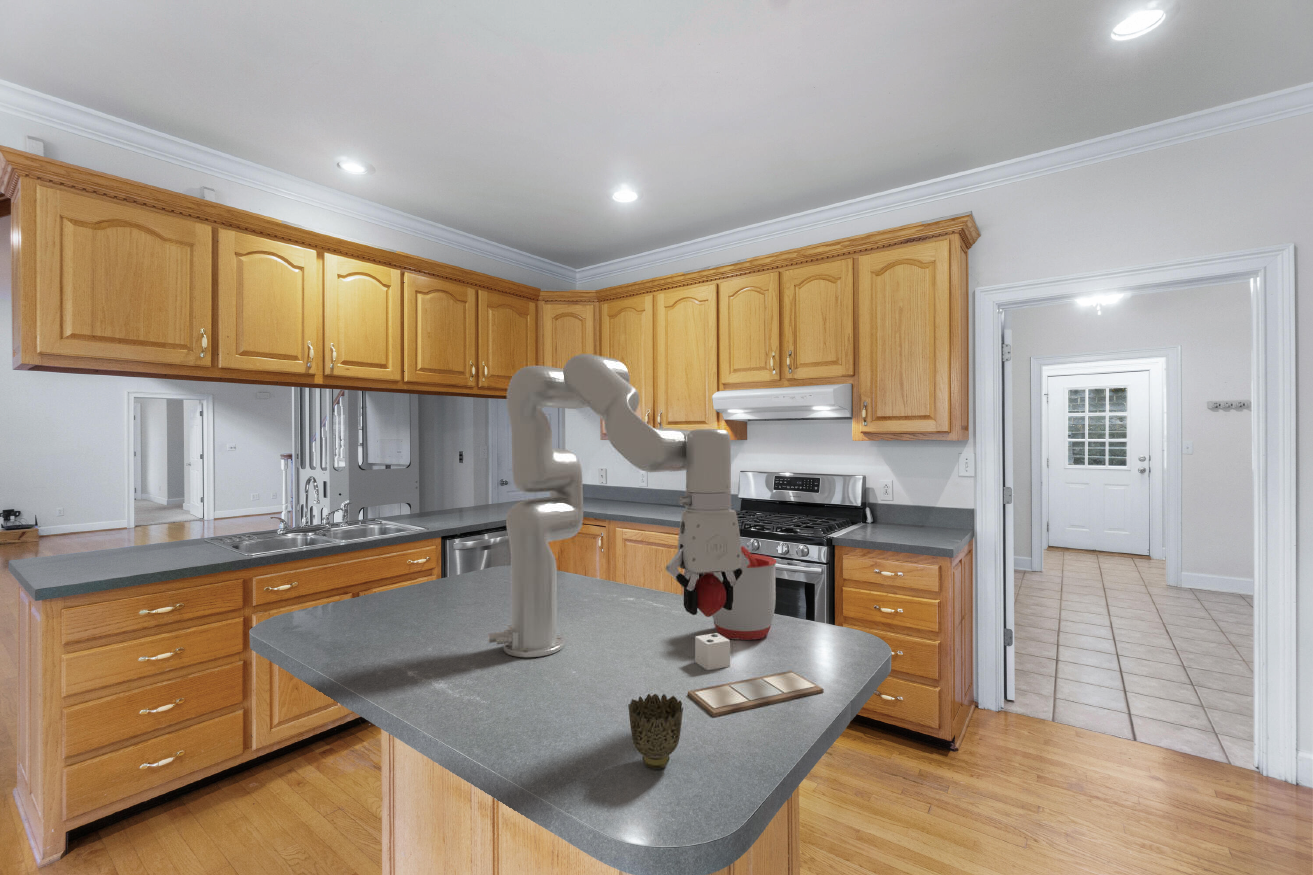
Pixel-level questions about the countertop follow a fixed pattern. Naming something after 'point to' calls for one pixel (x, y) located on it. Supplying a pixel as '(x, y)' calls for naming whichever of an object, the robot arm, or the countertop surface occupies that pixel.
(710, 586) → the onion
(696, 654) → the die
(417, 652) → the countertop surface
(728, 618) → the citrus juicer
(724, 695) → the brown flat rectangular frame
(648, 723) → the cup
